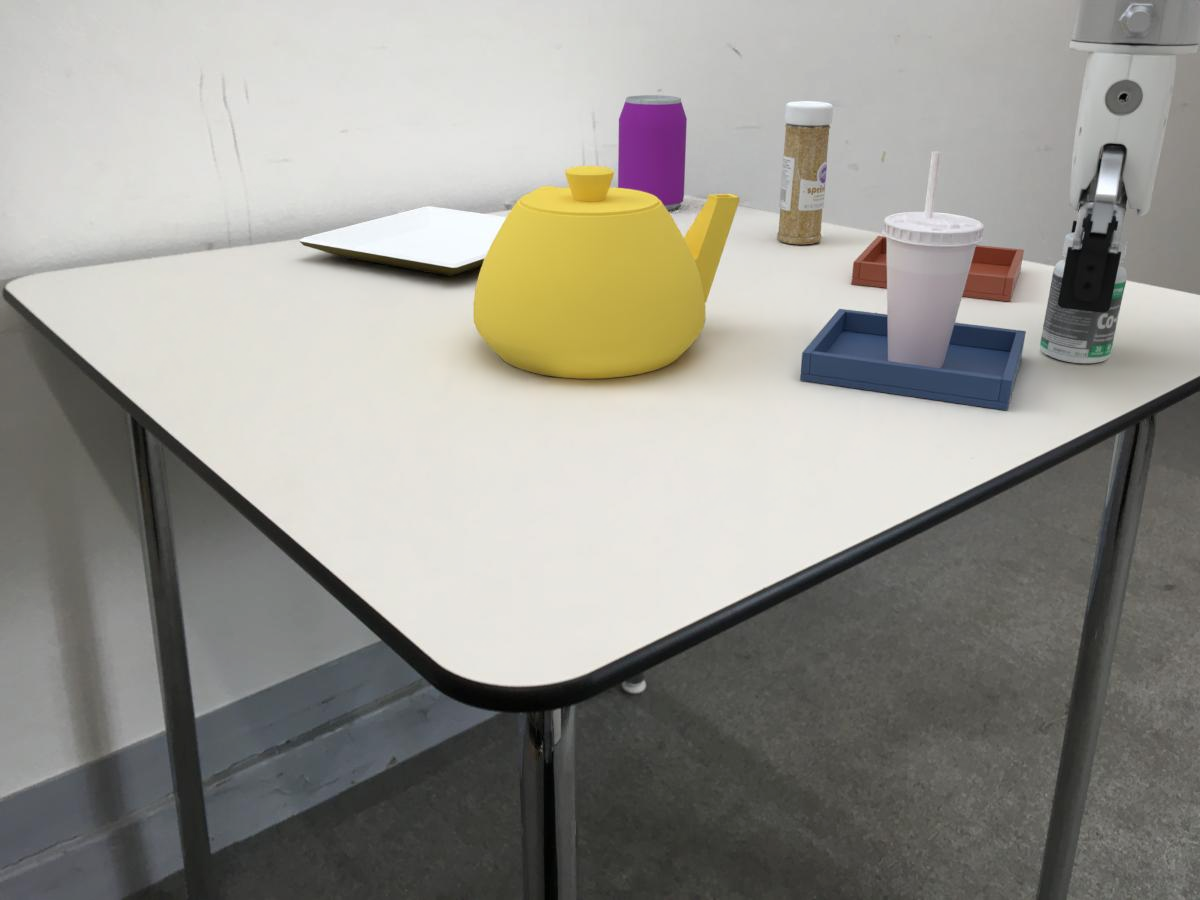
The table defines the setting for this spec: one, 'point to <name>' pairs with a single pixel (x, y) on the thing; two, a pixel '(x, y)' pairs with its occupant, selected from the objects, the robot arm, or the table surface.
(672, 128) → the beverage can
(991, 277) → the terracotta tray
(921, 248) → the smoothie
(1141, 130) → the robot arm
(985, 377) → the blue tray
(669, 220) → the teapot
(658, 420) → the table surface
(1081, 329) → the pill bottle
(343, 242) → the plate
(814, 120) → the sprinkles bottle
